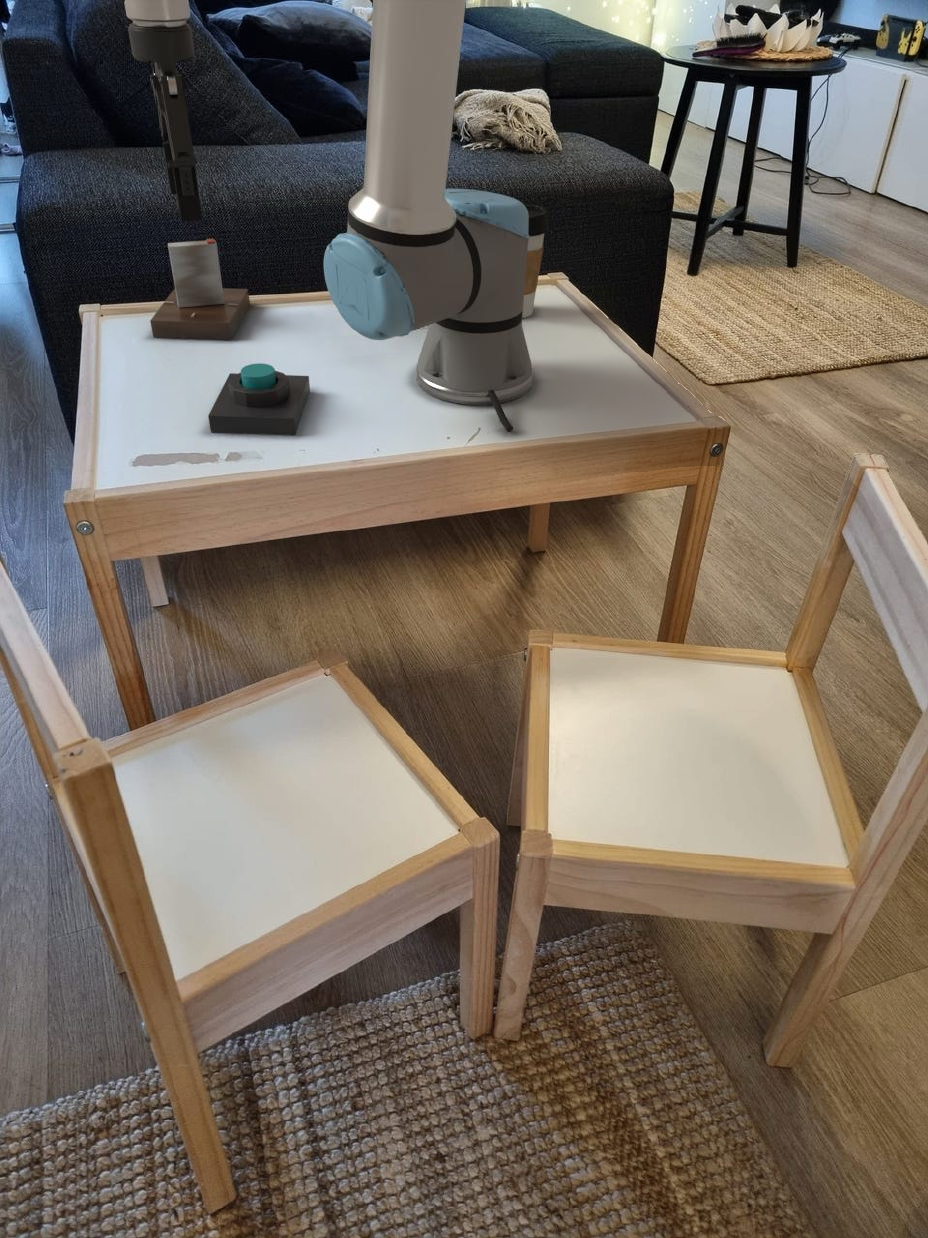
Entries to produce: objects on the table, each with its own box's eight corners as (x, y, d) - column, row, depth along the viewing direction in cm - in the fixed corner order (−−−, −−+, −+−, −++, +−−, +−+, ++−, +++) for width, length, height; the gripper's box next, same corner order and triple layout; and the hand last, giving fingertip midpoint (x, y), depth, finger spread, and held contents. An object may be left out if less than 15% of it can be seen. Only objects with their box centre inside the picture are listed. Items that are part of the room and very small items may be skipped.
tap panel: (231, 340, 130) (228, 321, 128) (153, 337, 130) (149, 319, 128) (250, 305, 141) (248, 287, 139) (178, 302, 141) (175, 285, 139)
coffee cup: (541, 322, 139) (550, 218, 130) (486, 320, 139) (490, 215, 130) (539, 303, 145) (547, 202, 136) (486, 301, 145) (490, 200, 136)
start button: (273, 391, 109) (271, 377, 108) (239, 390, 109) (237, 376, 108) (278, 377, 112) (277, 363, 111) (245, 376, 112) (244, 362, 111)
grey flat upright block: (178, 307, 132) (168, 244, 127) (177, 303, 134) (167, 241, 128) (224, 303, 134) (216, 241, 129) (222, 299, 136) (214, 237, 130)
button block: (295, 435, 108) (292, 403, 106) (210, 432, 108) (205, 401, 106) (310, 391, 118) (307, 361, 115) (232, 389, 118) (228, 359, 115)
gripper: (121, 9, 120) (150, 183, 134) (134, 35, 102) (166, 234, 116) (179, 10, 123) (202, 181, 136) (202, 35, 104) (226, 230, 118)
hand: (185, 206), depth 126 cm, fingers open, 13 cm apart
